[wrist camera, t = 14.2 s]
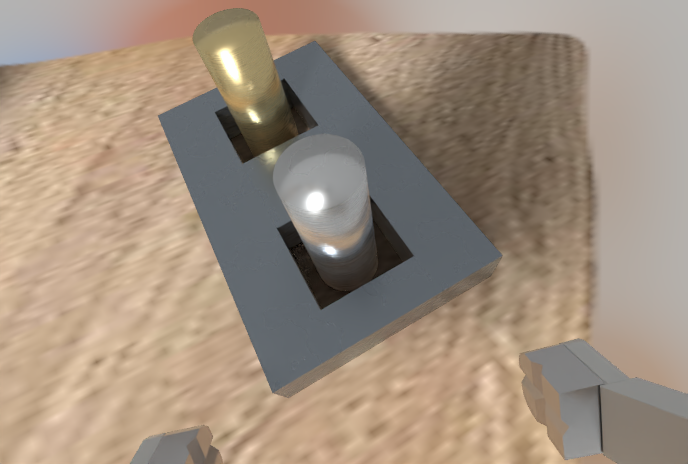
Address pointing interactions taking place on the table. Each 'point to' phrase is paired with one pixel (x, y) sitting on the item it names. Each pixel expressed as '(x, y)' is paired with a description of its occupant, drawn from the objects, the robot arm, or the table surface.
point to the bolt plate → (275, 223)
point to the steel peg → (330, 207)
